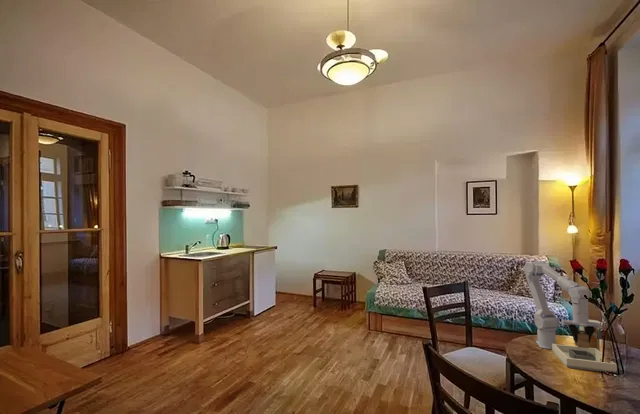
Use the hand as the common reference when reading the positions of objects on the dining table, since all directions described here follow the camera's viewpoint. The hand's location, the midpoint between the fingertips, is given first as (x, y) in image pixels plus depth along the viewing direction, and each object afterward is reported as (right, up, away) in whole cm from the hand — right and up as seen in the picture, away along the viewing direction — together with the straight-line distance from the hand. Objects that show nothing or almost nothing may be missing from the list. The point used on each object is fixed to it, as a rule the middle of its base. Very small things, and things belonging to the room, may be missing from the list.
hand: (581, 341), depth 148 cm
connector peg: (0, -2, 0) cm, 2 cm away
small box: (+20, -10, +18) cm, 29 cm away
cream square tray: (0, -9, 0) cm, 9 cm away
